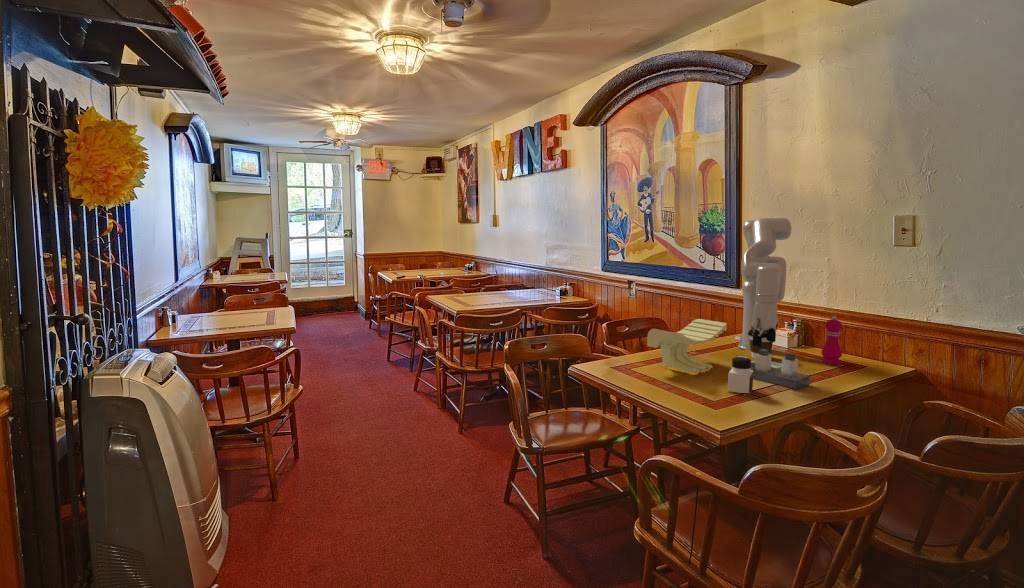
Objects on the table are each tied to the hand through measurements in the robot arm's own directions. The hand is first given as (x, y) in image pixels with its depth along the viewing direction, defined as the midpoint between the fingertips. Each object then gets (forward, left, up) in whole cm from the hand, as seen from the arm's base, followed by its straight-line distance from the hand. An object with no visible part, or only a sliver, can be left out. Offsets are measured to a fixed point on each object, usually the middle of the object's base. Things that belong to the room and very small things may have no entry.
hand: (764, 343), depth 206 cm
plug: (0, -1, -12) cm, 12 cm away
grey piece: (+3, -1, -13) cm, 14 cm away
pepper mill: (+7, +39, -13) cm, 42 cm away
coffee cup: (-15, +24, -14) cm, 31 cm away
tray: (-6, +12, -13) cm, 19 cm away
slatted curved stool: (-26, -12, -14) cm, 31 cm away
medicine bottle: (+3, -21, -14) cm, 25 cm away
